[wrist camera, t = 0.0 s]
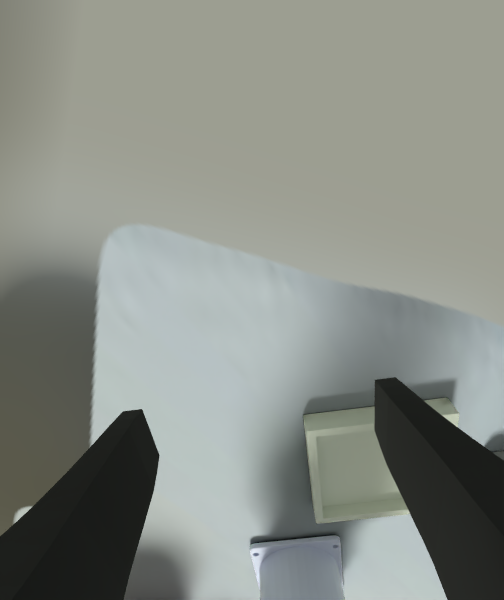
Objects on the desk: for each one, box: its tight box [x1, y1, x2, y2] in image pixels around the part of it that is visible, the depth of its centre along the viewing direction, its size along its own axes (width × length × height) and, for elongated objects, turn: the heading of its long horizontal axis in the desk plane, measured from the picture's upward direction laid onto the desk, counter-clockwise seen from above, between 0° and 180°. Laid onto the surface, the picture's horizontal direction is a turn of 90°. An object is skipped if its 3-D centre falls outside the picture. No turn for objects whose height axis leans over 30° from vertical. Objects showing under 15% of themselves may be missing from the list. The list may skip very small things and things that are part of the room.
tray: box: [303, 398, 459, 524], centre depth 25 cm, size 10×10×2 cm
